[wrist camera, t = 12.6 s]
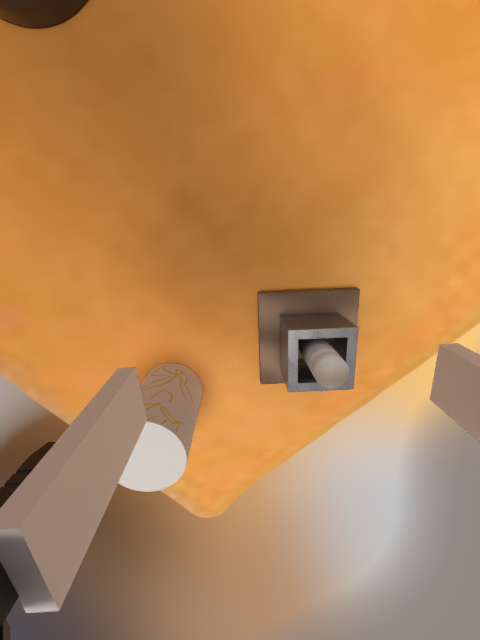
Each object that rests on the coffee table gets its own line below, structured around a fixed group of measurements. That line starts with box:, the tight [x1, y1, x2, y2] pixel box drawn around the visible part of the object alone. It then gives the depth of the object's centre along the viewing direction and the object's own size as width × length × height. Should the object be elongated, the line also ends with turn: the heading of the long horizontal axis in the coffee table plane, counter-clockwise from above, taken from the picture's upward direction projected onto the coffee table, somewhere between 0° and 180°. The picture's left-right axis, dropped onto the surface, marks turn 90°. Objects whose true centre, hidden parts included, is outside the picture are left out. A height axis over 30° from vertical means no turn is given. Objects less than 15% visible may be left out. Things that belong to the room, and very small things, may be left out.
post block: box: [258, 288, 360, 389], centre depth 30 cm, size 12×12×10 cm
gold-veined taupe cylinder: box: [118, 363, 203, 491], centre depth 31 cm, size 8×8×12 cm
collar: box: [280, 312, 359, 392], centre depth 31 cm, size 7×7×6 cm
